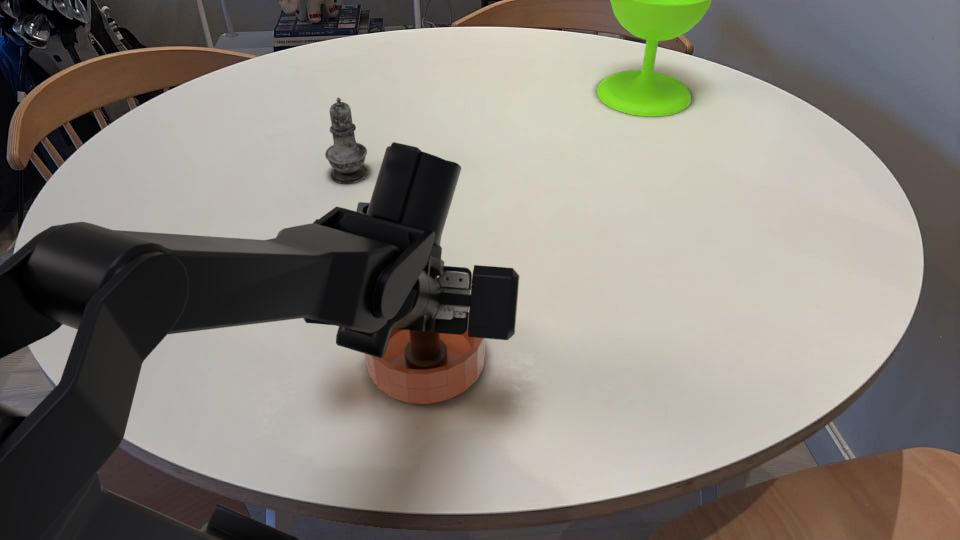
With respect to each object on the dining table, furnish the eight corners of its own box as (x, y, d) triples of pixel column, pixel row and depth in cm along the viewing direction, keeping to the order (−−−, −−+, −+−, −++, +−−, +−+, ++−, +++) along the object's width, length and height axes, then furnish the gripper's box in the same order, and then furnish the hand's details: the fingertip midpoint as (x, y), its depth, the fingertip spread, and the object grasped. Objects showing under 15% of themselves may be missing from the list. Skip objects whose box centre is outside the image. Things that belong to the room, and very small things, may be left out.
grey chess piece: (320, 177, 100) (306, 100, 92) (346, 159, 104) (335, 83, 96) (351, 189, 98) (340, 111, 90) (378, 170, 102) (369, 94, 94)
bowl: (431, 428, 67) (428, 394, 63) (343, 368, 72) (336, 334, 69) (507, 354, 74) (509, 320, 71) (422, 305, 80) (419, 272, 77)
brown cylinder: (427, 378, 70) (420, 281, 62) (396, 358, 72) (385, 261, 64) (456, 353, 73) (453, 256, 64) (424, 334, 75) (417, 238, 66)
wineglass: (710, 106, 117) (736, -4, 105) (628, 124, 112) (645, 11, 100) (656, 68, 128) (674, -35, 116) (580, 83, 123) (590, -23, 112)
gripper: (522, 196, 54) (525, 226, 69) (287, 180, 55) (342, 213, 71) (510, 341, 53) (516, 339, 68) (271, 321, 54) (331, 323, 70)
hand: (425, 300), depth 69 cm, fingers closed on brown cylinder, 3 cm apart
